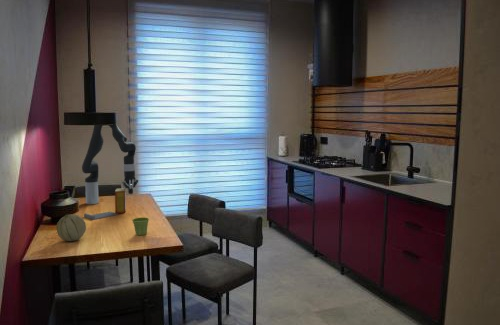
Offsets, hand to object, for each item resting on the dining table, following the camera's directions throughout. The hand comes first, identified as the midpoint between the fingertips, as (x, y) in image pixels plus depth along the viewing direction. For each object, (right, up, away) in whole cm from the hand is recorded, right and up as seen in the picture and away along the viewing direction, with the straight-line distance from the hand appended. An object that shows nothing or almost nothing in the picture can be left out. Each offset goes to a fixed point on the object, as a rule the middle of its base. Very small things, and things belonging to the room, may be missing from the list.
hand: (130, 193), depth 299 cm
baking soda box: (-6, -12, -5) cm, 15 cm away
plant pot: (+24, -19, -61) cm, 68 cm away
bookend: (-15, -14, -16) cm, 26 cm away
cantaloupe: (-11, -20, -73) cm, 77 cm away
